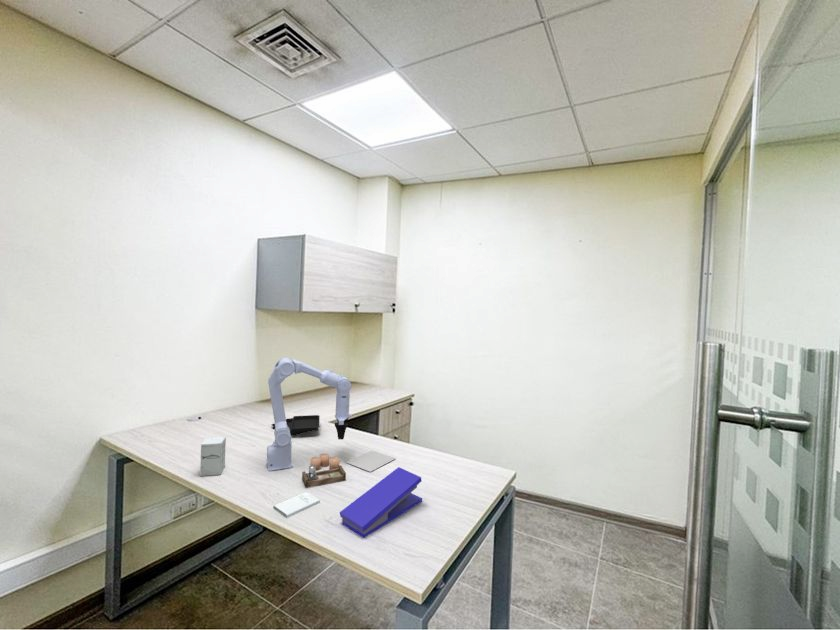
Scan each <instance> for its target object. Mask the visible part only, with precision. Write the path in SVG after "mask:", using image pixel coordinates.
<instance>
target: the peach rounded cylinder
mask: <svg viewBox="0 0 840 630" xmlns="http://www.w3.org/2000/svg"><path fill="white" fill-rule="evenodd" d="M318 457H320V458H321V466H320V468H326V467H329V461H330V454H329V453H321V454H319V456H318Z"/></svg>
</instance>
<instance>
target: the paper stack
mask: <svg viewBox="0 0 840 630" xmlns="http://www.w3.org/2000/svg"><path fill="white" fill-rule="evenodd" d="M394 460H397V458H396V457H393V456H390V455H387V454H384V453H381V452H378V451H376V450H373V449H372V450H369V451H367V452H366V453H363V454H361V455H359V456H356V457H354V458H353V459H350V460H348V461H345V463H346V464H349V465H352V466H354V467H357V468H359V469H362V470H365V471H367V472H369V473H370V472H373V471H375V470H377V469H379V468H380V467H382V466H384V465H386V464H389V463H390V462H392V461H394Z"/></svg>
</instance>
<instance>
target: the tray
mask: <svg viewBox="0 0 840 630" xmlns="http://www.w3.org/2000/svg"><path fill="white" fill-rule="evenodd" d="M320 417H321V416H320V415H319V414H317V415H316V414H315V415H313V414H312V415H311V414H310V415H293V417H291V418H290V417H289V418H286V423H287V426H288V427H289V428H290V435H291V437H294V436H295V437H296V436H298V435H302V434H305V433H311V432H313V431H318V430H319V428H320ZM271 426H272V428H273V429H274V430H275V422H273V423H272V424H271Z"/></svg>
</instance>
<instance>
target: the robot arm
mask: <svg viewBox="0 0 840 630" xmlns="http://www.w3.org/2000/svg"><path fill="white" fill-rule="evenodd" d="M301 373H303V374H306V375H308V376H312V377H313V378H317V379H319V382H320V383H321V384H324V385H326V386H328V387H331V388H334V389H336V395H335V414H334V418H335V419H336V421H337V422H334V427H335V428H336V429H335V430H336V433H337V434H336V435H337V439H338V440H344V439H345V434H346V430H347V428H348V425H349V423H348V420H349V418H352V414H350V391H351V389H352V386H353V385H352V384H351V381H350V380H349V379H348V378H347V377H346V376H344V375H342V374H337V373H335V372H333V370H331V369H329V370H327V369H324V370H319V369H318V368H315V367H314V366H311V365H309V364H307V363H305V362H302V361H301V360H300V361H299V360H298V359H294V358H293V359H292V358H290V357H288V356H287V357H285V356H284V357H281V358H280V359H279V360H278V361H277V362H276V363H275V364H274V367H273V369H272V371H271V373H270V374H269V377H268V379H267V380H268V382H267V384H268V389H269V395H270V402H271V409H272V413H273V420H274V423H275V429H274V431H273V433H274V441H273V443H272V444H270V445H267V451H266V465H267V466H266V467H267V470H268V472H271V471H272V472H273V471H278V470H279V471H280V470H283V469H290V468H291V469H292V468H294V464H293V461H292V446H293V445H292V436H291V435H290V428H289V427H288V426H287V423H286V419H287V417H286V411H285V406H284V399H283V398H284V397H283V393H282V392H283V391H282V386H281V385H282V383H283V382H284V381H285V379H287V378H288V377H291V376H292V375H293V374H295V375H296V374H301Z"/></svg>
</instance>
